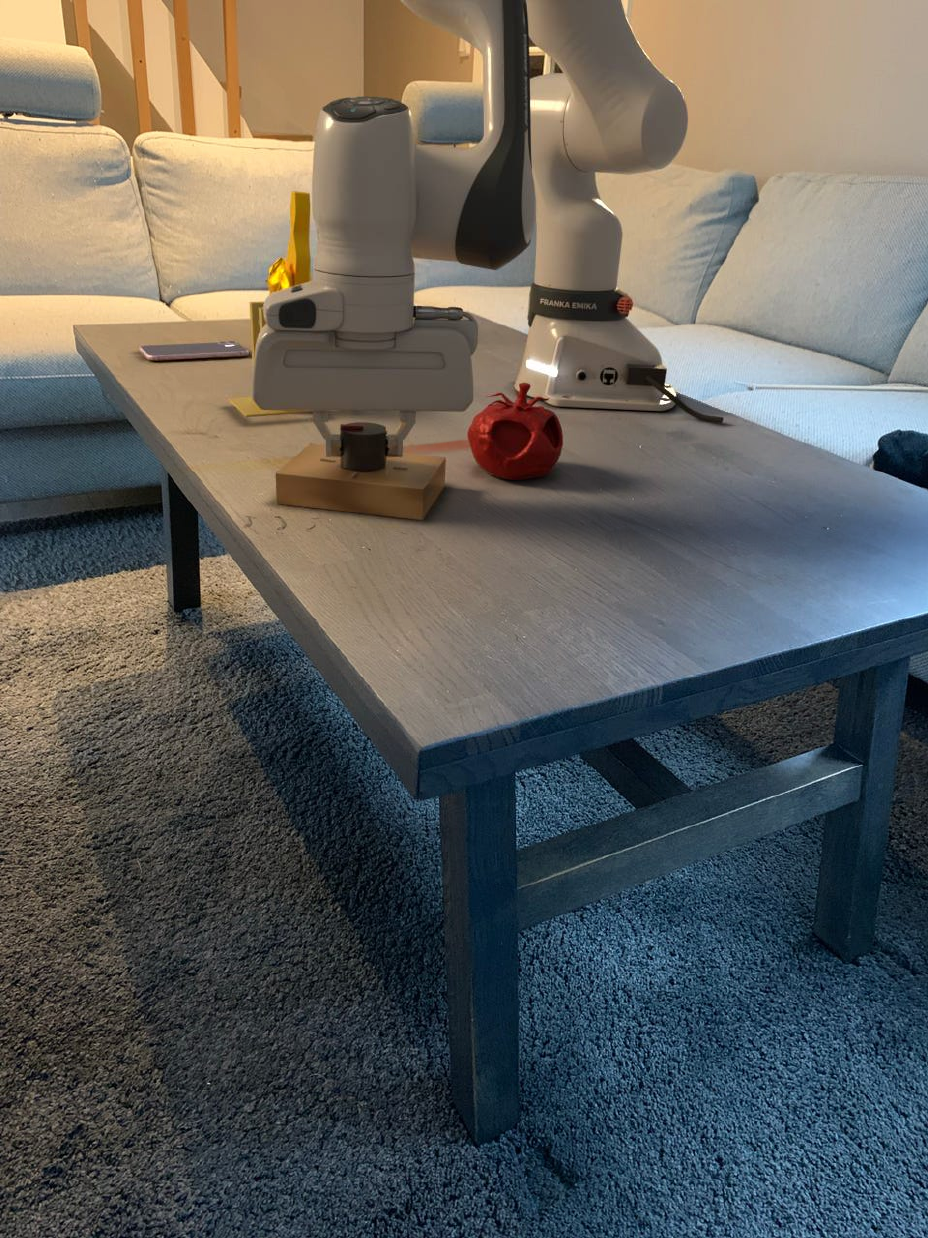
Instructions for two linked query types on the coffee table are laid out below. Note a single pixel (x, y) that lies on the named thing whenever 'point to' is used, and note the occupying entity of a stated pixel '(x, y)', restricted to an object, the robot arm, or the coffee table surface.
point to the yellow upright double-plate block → (247, 403)
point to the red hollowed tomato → (516, 437)
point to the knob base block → (362, 484)
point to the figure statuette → (294, 248)
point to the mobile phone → (193, 351)
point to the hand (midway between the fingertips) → (363, 455)
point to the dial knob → (363, 446)
